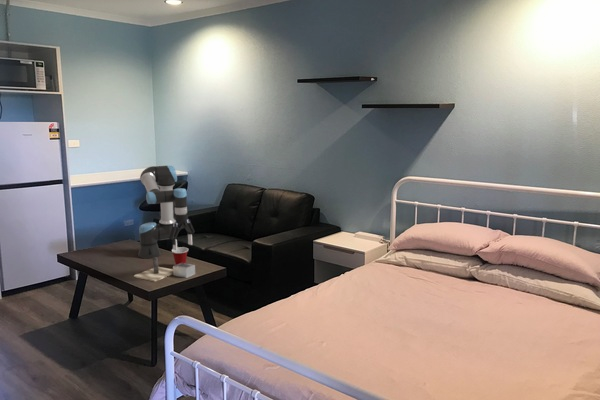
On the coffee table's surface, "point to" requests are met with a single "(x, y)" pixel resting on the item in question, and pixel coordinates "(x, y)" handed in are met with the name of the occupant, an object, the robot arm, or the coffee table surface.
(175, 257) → the plastic cup
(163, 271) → the keeper board
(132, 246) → the coffee table surface
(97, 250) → the coffee table surface
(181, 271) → the white box
